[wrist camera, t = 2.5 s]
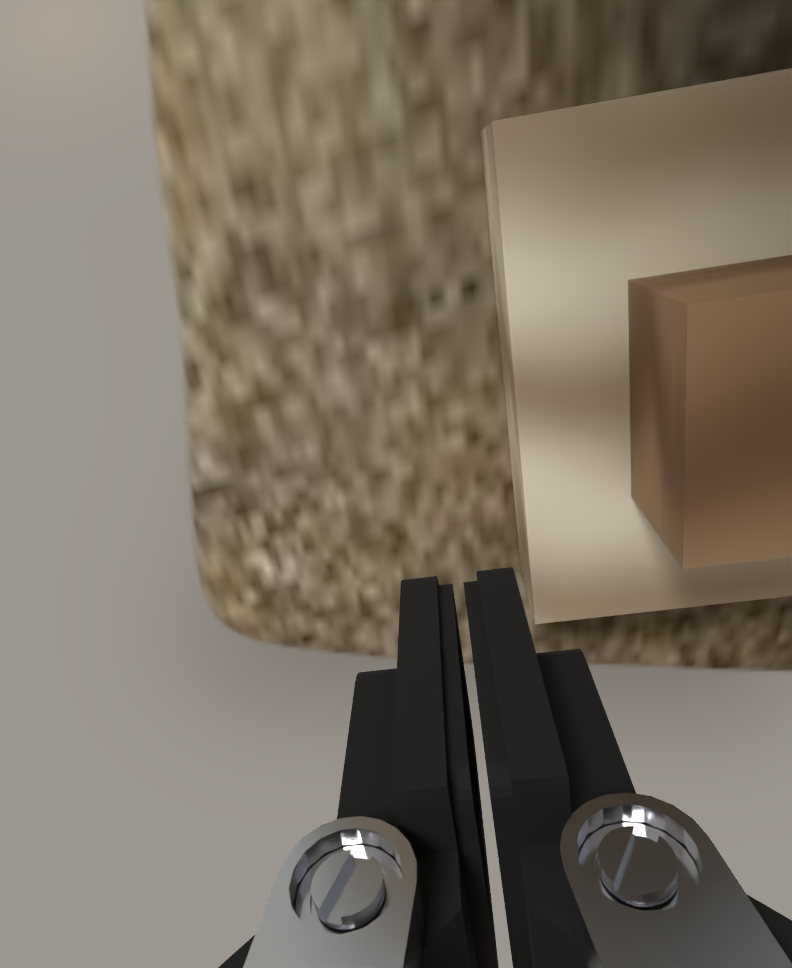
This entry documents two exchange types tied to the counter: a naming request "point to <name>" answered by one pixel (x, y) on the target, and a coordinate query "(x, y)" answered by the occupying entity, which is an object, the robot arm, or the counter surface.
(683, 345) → the walnut block
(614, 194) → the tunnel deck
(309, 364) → the counter surface
